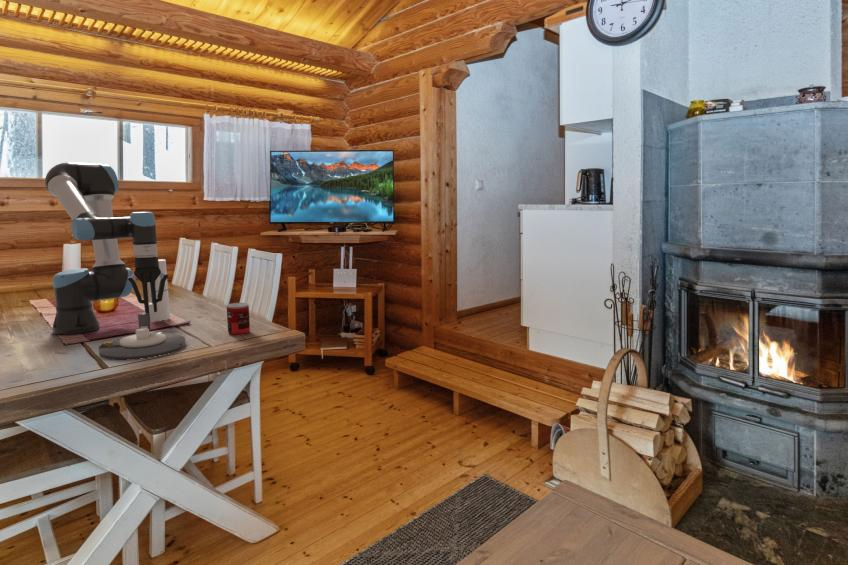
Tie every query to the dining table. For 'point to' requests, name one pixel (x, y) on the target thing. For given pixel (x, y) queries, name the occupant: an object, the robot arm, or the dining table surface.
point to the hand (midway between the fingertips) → (152, 321)
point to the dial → (143, 335)
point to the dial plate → (141, 348)
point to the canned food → (238, 318)
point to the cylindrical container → (163, 305)
